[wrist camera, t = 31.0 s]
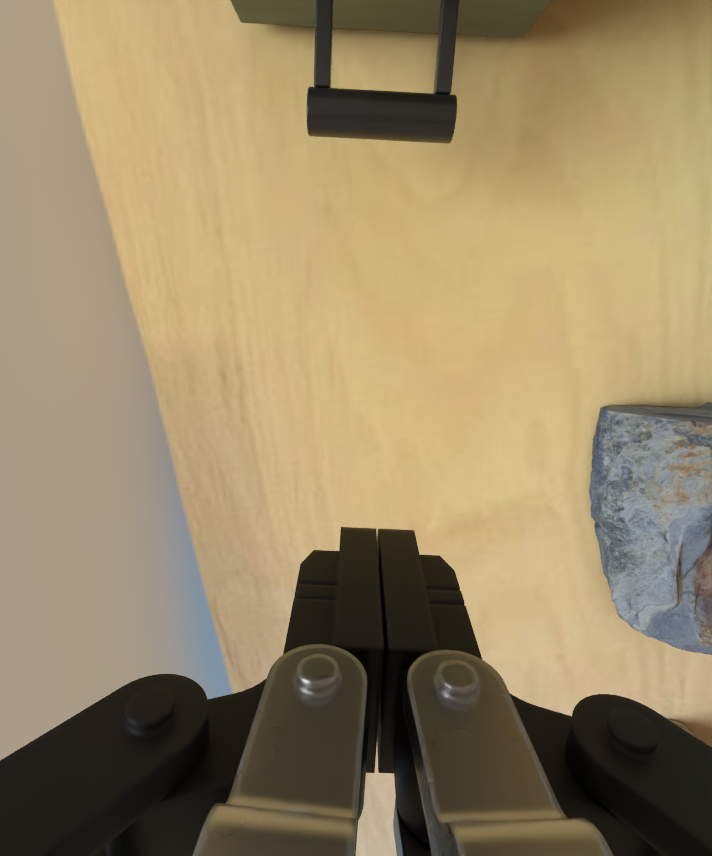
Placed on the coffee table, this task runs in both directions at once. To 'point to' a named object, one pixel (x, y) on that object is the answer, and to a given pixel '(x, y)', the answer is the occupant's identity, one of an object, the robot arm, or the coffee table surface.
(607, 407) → the stone
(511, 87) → the coffee table surface
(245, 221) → the coffee table surface
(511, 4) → the drawer
